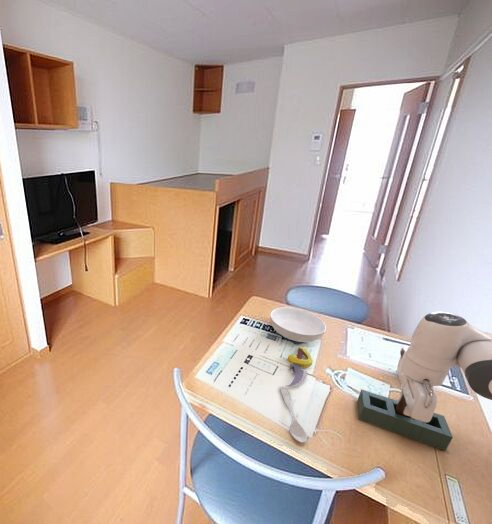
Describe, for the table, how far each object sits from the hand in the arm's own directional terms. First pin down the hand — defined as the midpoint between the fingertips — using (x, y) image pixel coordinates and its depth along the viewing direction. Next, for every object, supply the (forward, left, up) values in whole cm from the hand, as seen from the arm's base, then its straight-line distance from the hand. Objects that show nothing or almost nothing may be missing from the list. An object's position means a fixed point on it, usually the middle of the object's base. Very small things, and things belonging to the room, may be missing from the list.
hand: (404, 407), depth 85 cm
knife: (+27, -10, -6) cm, 30 cm away
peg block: (0, 0, -6) cm, 6 cm away
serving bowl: (+30, -33, -6) cm, 45 cm away
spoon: (+27, +12, -6) cm, 30 cm away
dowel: (0, 0, -4) cm, 4 cm away
